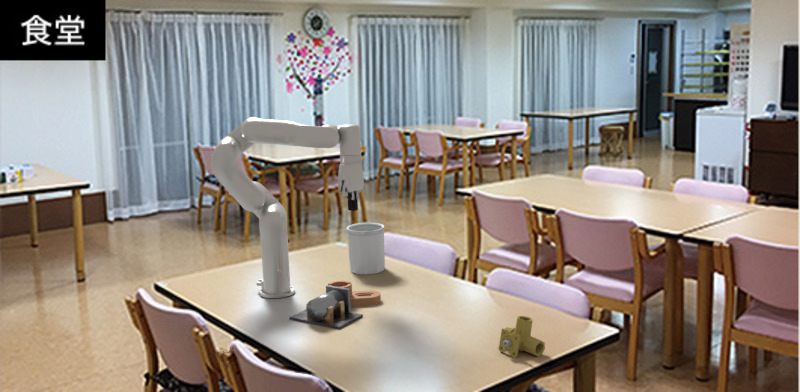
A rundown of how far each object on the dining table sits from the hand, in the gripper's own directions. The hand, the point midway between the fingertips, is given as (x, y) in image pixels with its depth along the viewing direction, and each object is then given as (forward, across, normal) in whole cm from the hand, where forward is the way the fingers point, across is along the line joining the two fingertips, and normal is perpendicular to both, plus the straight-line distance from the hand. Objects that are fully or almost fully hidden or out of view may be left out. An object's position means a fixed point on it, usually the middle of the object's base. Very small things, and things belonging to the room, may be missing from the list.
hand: (352, 210), depth 285 cm
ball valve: (+30, +30, +76) cm, 87 cm away
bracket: (+30, +14, +9) cm, 34 cm away
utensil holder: (+29, -22, -10) cm, 38 cm away
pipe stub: (+29, +31, +10) cm, 44 cm away
